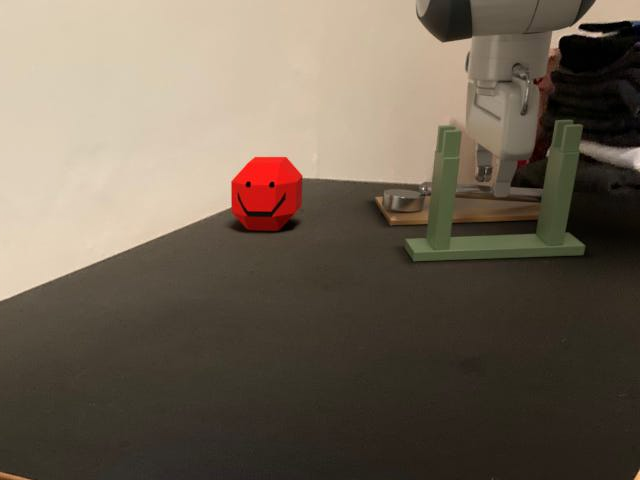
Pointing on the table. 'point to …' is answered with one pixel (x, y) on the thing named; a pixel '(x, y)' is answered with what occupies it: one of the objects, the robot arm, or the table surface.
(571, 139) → the rack
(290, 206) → the ball
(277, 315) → the table surface
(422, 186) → the ladle
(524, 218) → the brown wooden board
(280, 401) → the table surface
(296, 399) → the table surface
